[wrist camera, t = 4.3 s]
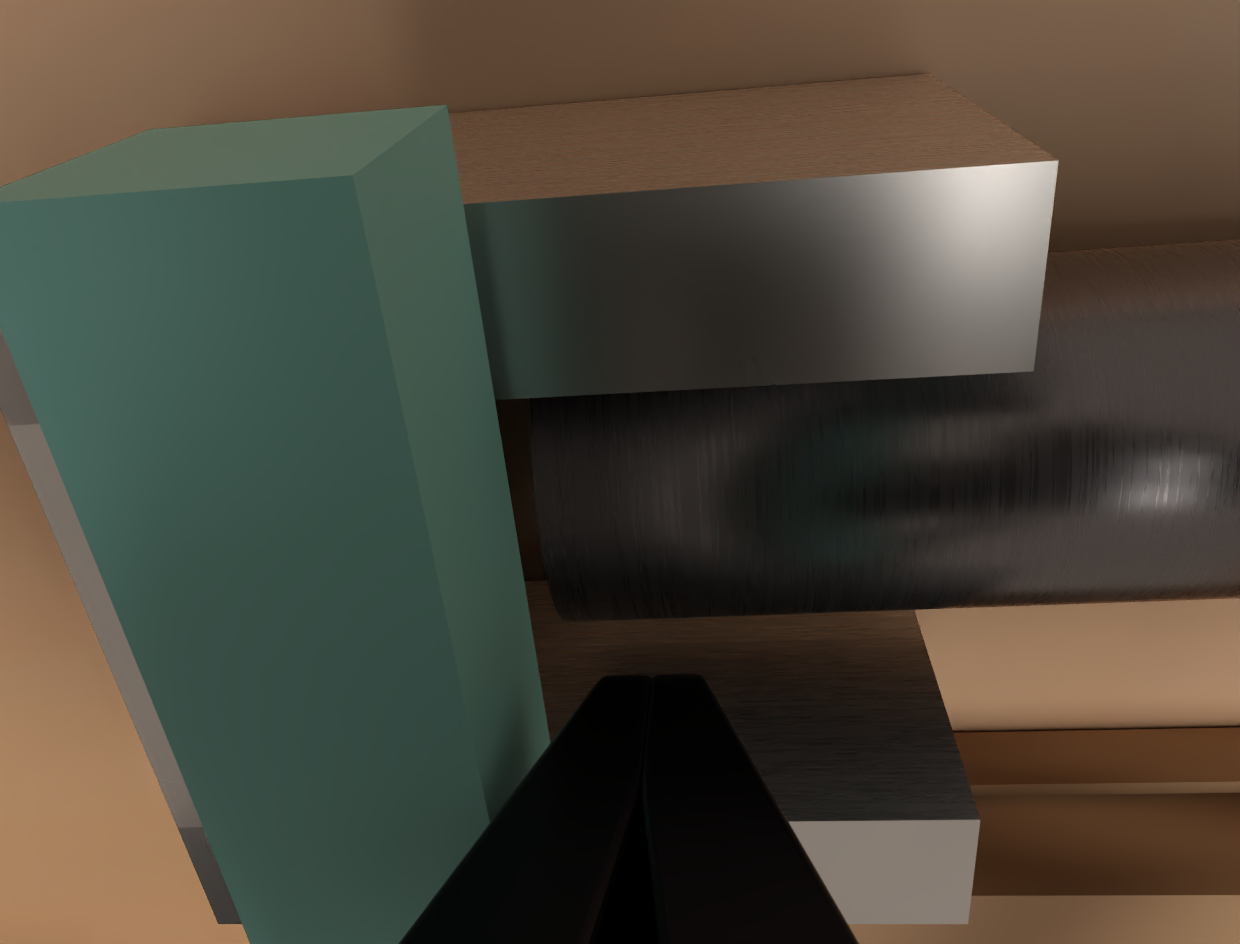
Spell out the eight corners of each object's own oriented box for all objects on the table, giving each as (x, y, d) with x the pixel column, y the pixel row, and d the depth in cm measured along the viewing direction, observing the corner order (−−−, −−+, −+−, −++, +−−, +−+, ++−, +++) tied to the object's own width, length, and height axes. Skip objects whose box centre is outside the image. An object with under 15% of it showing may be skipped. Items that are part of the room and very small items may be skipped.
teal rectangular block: (407, 990, 11) (352, 1196, 9) (148, 130, 7) (-50, 205, 5) (590, 991, 11) (569, 1201, 9) (447, 105, 6) (351, 174, 5)
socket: (337, 672, 15) (219, 923, 11) (184, 134, 11) (-71, 243, 7) (895, 657, 14) (967, 924, 10) (929, 72, 10) (1059, 160, 7)
